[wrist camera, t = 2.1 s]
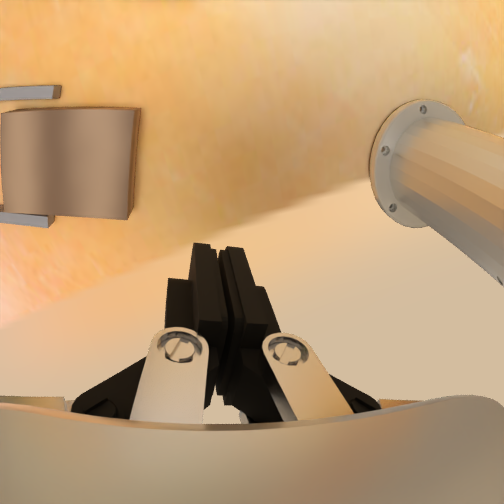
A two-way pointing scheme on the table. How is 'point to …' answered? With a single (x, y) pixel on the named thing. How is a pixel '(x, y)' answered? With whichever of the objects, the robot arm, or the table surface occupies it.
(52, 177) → the walnut tile
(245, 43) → the table surface
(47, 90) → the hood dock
